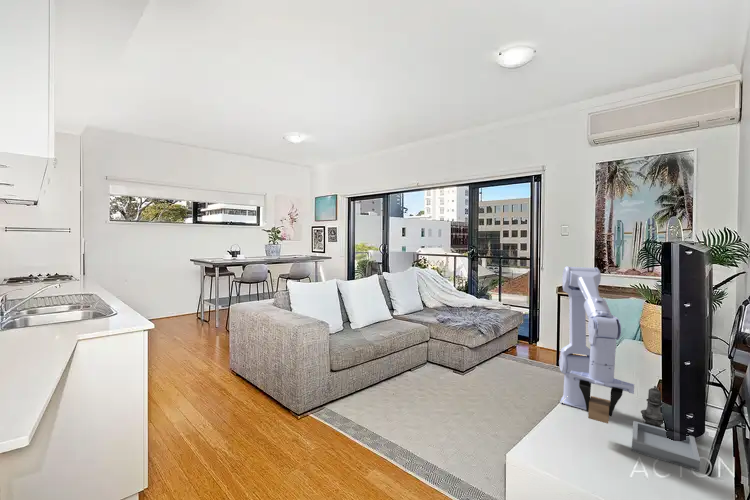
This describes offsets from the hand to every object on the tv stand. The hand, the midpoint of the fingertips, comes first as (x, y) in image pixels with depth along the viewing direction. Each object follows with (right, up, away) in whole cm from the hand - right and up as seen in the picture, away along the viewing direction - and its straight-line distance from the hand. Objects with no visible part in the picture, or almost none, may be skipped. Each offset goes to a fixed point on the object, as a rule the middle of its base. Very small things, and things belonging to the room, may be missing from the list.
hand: (599, 411), depth 99 cm
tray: (+14, -8, -4) cm, 16 cm away
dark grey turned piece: (+20, -8, +7) cm, 22 cm away
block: (0, -2, 0) cm, 2 cm away
